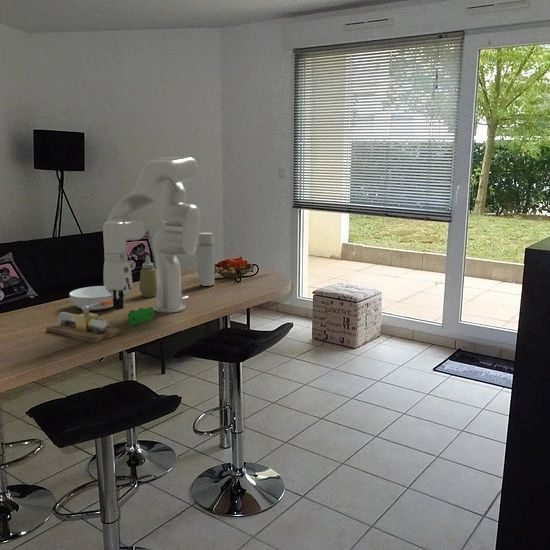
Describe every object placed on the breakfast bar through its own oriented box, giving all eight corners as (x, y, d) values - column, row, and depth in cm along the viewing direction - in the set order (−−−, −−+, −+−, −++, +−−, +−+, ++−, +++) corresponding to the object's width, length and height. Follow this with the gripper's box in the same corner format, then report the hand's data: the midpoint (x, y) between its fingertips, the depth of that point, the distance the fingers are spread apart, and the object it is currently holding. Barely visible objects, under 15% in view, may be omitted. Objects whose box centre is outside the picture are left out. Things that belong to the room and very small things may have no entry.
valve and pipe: (68, 321, 208) (67, 308, 207) (111, 331, 196) (110, 317, 195) (56, 325, 204) (55, 311, 203) (99, 335, 192) (98, 320, 191)
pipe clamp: (146, 317, 220) (146, 306, 219) (153, 319, 218) (153, 307, 217) (123, 324, 211) (123, 311, 210) (130, 325, 209) (130, 313, 208)
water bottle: (217, 284, 278) (216, 232, 273) (211, 287, 270) (210, 234, 265) (198, 283, 280) (197, 231, 275) (193, 286, 272) (191, 234, 267)
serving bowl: (98, 299, 248) (97, 283, 246) (135, 305, 238) (134, 289, 236) (58, 310, 230) (57, 293, 229) (96, 317, 220) (95, 299, 219)
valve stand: (74, 323, 212) (74, 319, 211) (121, 333, 199) (121, 329, 199) (46, 331, 202) (46, 327, 201) (93, 343, 189) (93, 338, 189)
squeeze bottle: (157, 293, 259) (155, 253, 255) (159, 297, 251) (158, 256, 248) (138, 294, 256) (137, 254, 253) (140, 298, 249) (138, 257, 245)
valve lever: (85, 315, 196) (85, 307, 195) (80, 314, 197) (79, 306, 197) (116, 307, 207) (115, 299, 206) (110, 306, 208) (110, 298, 208)
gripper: (139, 257, 197) (141, 310, 201) (110, 253, 206) (112, 303, 209) (122, 260, 191) (124, 314, 195) (92, 256, 199) (95, 308, 203)
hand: (118, 308), depth 202 cm, fingers closed
